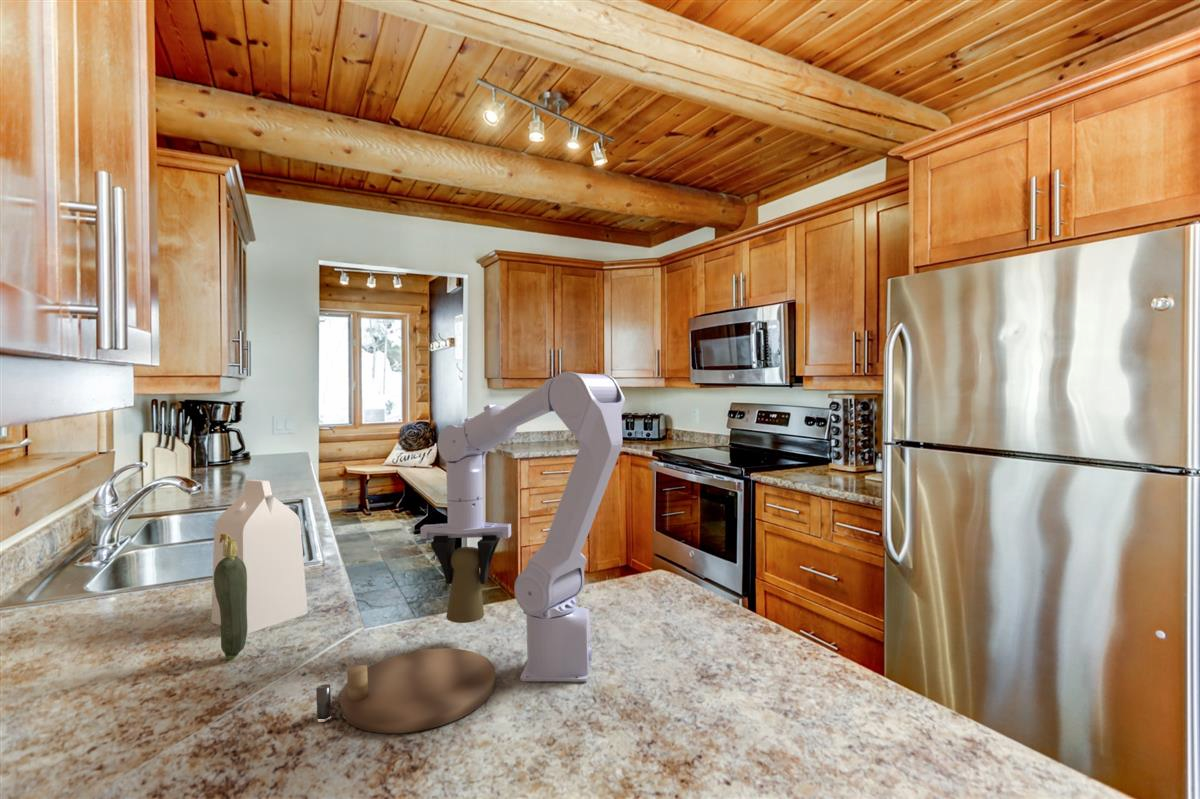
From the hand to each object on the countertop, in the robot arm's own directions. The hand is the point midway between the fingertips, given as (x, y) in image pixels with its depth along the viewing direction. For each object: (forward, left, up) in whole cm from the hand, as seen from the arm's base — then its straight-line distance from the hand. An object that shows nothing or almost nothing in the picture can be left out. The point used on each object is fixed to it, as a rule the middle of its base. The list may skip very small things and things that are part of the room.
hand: (467, 582), depth 93 cm
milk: (+44, -12, -11) cm, 47 cm away
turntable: (+2, +15, -10) cm, 18 cm away
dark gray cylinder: (+4, +16, -10) cm, 19 cm away
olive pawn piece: (+1, 0, -6) cm, 6 cm away
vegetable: (+36, +6, -10) cm, 38 cm away
